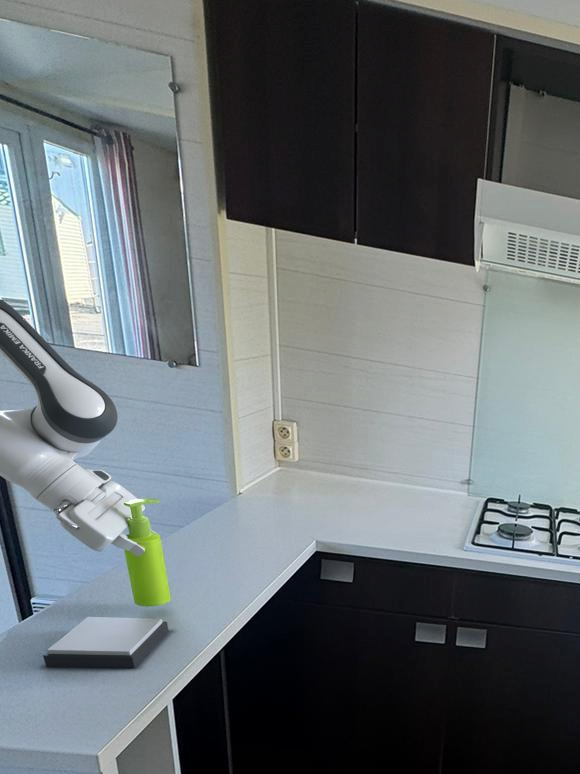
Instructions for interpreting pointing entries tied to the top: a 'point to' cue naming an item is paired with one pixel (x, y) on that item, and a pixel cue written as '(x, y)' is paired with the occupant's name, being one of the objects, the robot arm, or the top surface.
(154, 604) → the soap dispenser
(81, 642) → the kitchen scale
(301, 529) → the top surface
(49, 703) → the top surface
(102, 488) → the robot arm
